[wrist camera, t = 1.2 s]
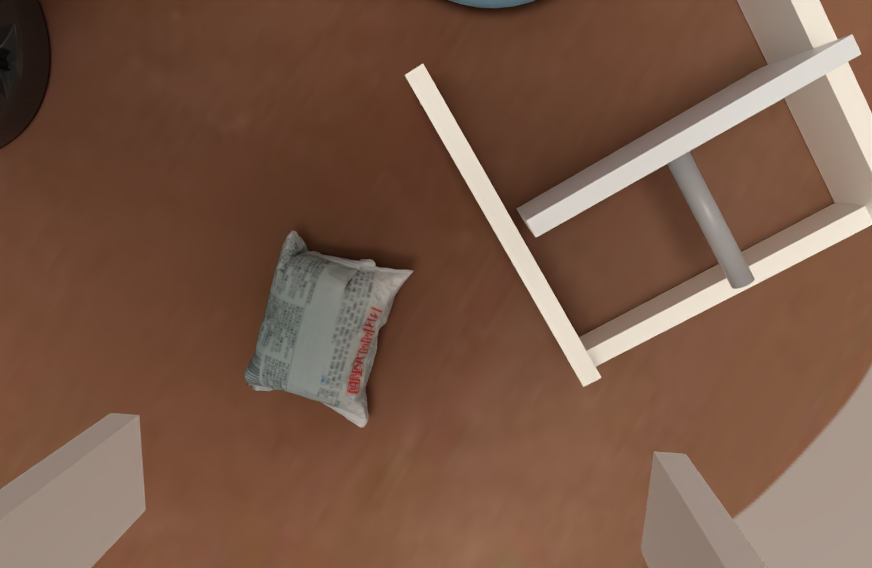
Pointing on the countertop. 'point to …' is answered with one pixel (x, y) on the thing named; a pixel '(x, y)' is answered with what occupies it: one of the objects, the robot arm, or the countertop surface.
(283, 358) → the packaged food
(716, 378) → the countertop surface
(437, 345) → the countertop surface
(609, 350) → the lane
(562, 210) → the pusher
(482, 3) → the sugar bowl
